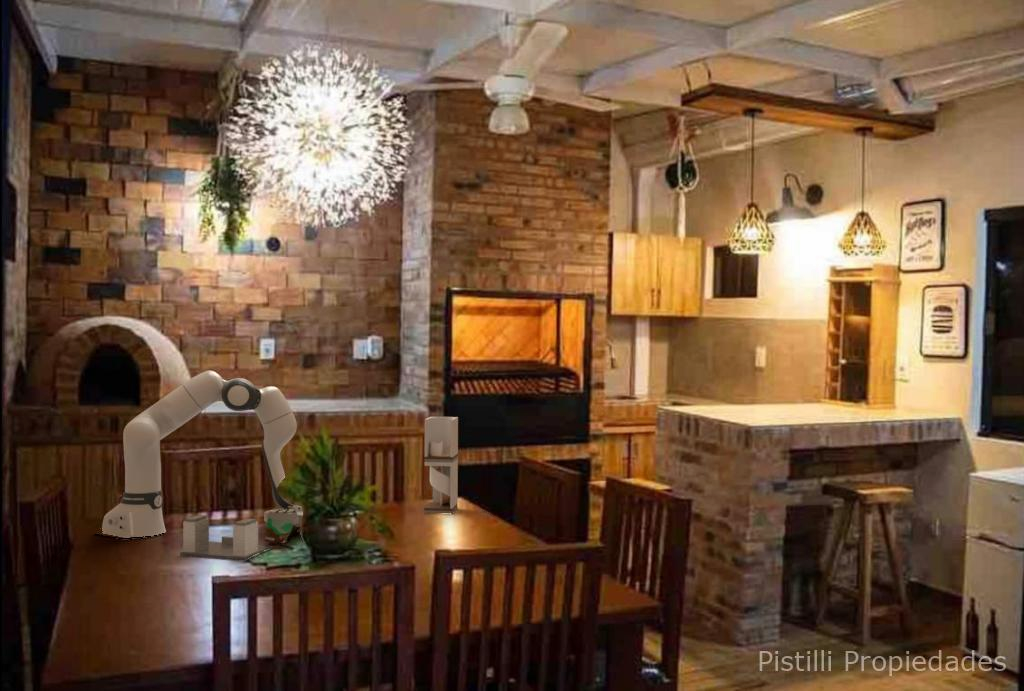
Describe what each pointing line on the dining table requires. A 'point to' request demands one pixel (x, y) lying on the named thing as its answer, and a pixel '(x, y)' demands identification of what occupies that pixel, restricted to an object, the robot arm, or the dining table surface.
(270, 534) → the food container
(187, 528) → the rail
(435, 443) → the white tiered stand
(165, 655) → the dining table surface
